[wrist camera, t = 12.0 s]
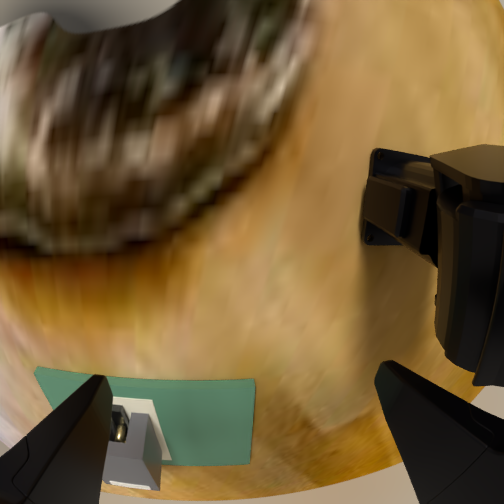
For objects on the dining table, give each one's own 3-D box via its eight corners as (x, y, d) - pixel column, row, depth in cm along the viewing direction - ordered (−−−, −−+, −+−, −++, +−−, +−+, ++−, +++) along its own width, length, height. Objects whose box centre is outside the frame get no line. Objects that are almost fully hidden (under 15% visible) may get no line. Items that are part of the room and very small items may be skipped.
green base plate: (253, 378, 23) (255, 388, 22) (248, 457, 28) (249, 464, 27) (37, 366, 20) (33, 374, 19) (84, 447, 25) (82, 454, 24)
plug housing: (148, 413, 22) (142, 460, 17) (162, 451, 24) (159, 491, 20) (91, 407, 21) (78, 450, 16) (112, 446, 24) (105, 484, 19)
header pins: (122, 405, 21) (117, 427, 19) (144, 454, 24) (142, 472, 22) (110, 403, 21) (104, 425, 19) (133, 453, 24) (131, 471, 22)
